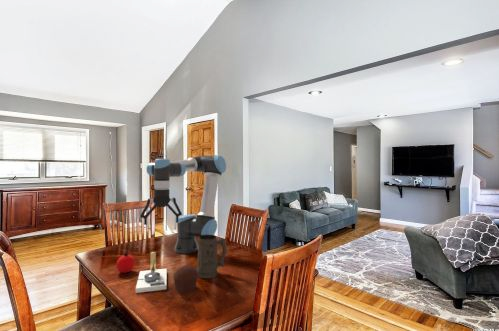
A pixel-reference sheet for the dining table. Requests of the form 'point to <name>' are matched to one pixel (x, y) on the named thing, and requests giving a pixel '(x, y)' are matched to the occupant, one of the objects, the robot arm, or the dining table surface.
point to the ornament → (125, 263)
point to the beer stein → (209, 256)
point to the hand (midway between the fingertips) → (161, 230)
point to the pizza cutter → (152, 270)
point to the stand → (151, 286)
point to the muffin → (185, 279)
